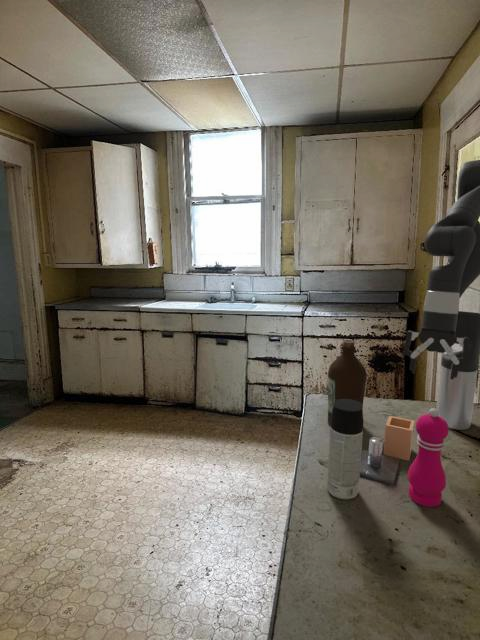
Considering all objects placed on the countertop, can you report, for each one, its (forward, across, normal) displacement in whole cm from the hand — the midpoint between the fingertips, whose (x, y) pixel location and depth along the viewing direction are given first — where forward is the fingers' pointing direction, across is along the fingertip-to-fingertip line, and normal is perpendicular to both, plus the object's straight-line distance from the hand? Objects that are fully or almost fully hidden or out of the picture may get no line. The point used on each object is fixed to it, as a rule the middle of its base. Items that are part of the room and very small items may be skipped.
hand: (432, 375), depth 98 cm
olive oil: (+20, +21, -8) cm, 30 cm away
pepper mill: (+22, -1, +18) cm, 29 cm away
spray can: (+24, +15, +24) cm, 36 cm away
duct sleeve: (+21, +6, +2) cm, 21 cm away
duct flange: (+22, +10, +11) cm, 27 cm away
